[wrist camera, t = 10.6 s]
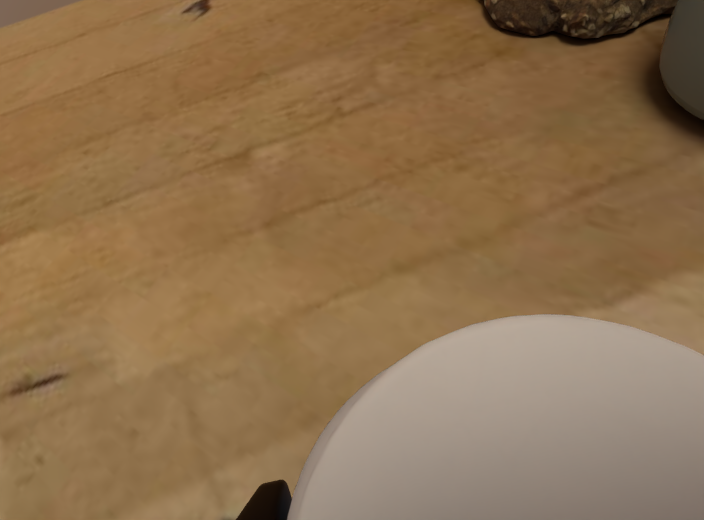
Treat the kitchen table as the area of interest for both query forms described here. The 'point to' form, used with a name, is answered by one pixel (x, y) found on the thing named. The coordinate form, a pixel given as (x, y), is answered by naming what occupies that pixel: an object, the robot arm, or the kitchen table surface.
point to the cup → (685, 56)
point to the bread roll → (575, 15)
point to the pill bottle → (518, 429)
